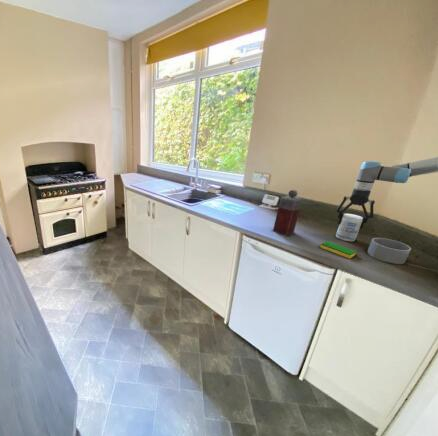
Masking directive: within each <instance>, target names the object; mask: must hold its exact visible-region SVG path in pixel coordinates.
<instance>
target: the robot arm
mask: <svg viewBox="0 0 438 436" xmlns="http://www.w3.org/2000/svg"><path fill="white" fill-rule="evenodd" d="M434 173H438V156H437V157H430V158H426V159H421V160H416V161H412V162H411V161H410V162H407V163H402V164H394V165H392V166H383V165H382V163H381V162H380V161H374V160H365V161H363V162H362V164H361V165H360V169H359V171H358V173H357V174H358V175H357V177H356V181H355V184H354V187H353V190H352V193H351V195H350V196H346V195H344V196H343V199H342V201H341V203H340V204H339V205H338V206H337V208H336V209H335V212H336V213H338V215H337V219H338V223H337V224H338V225H339V224H340V222H341V219H342V216H343V214H344V212H345V211H346V210H348V209H349V208H350V207H352V206H358V207H360V206H361V207H362V208H361V209H362V210H363V213H364V216H362V218H363V221H362V224H361V226H360V230H362V229H363V227H364V224H367V223H368V221H369V219H373V218H374V205H375V203H376V201H375V199H369V198H370V195H371V190H372V189H373V186H374V184H375V182H376V181H380V182H389V183H395V184H405V183H407V182H408V181H409V178H410V177H417V176H422V175H423V176H424V175H428V174H434ZM348 200H349V201H350V202H348V204H346V205H345V203H346V201H348ZM367 203H368V204H369V214H368V211H367V208H366V205H365V204H367ZM344 205H345V206H344ZM343 206H344V207H343ZM342 207H343V208H342Z"/></svg>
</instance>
